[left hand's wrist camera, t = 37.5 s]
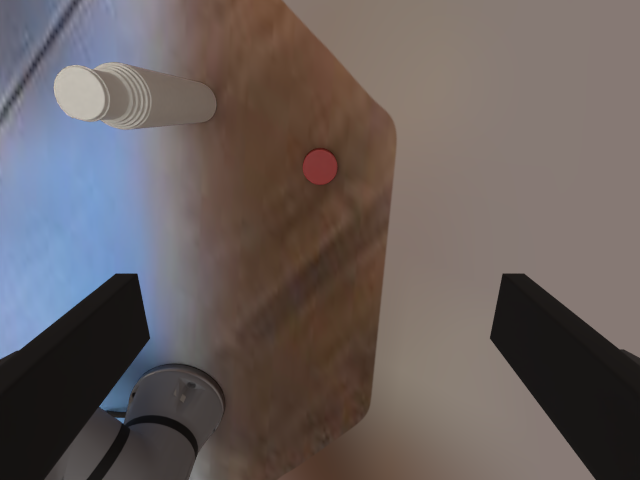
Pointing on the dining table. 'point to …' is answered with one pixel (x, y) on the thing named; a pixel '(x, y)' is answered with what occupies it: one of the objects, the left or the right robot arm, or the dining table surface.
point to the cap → (320, 166)
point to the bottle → (132, 96)
